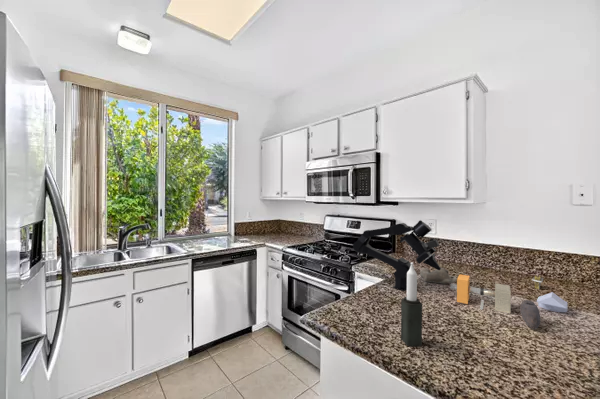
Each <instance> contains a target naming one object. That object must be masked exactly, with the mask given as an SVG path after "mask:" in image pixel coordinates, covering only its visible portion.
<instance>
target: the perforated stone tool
mask: <svg viewBox="0 0 600 399" xmlns="http://www.w3.org/2000/svg"><path fill="white" fill-rule="evenodd" d="M538 308H539V307H538V305H537V304H536V303H534V301H532V300H528V299H525V300H523V301H521V303H520V306H519V310H520V315H521V317H522V319H523V321H524V323H525V324H526V326H528V328H530V329H532V330H533V329H534V330H537V329H538V328H539V327H540V325H541V314H540V311H539V310H540V309H538Z"/></svg>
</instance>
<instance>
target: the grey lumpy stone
mask: <svg viewBox="0 0 600 399" xmlns="http://www.w3.org/2000/svg"><path fill="white" fill-rule="evenodd" d="M440 268H441V269H440V270H437V269H435V270H432V271H431V270H430V269H429V268H427V267H424V268H421V269H420V271H419V275H420V277H421V278H422V279H423V280H424V281H425V282H426V283H435V284H442V285H443V284H444V285H445V284H449V283H450V284H455V282H457V278H458V277H457V276H454V275H450V274H449V273H450V272H449V270H448V269H446V268H445V267H440Z"/></svg>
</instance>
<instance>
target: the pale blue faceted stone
mask: <svg viewBox="0 0 600 399" xmlns="http://www.w3.org/2000/svg"><path fill="white" fill-rule="evenodd" d="M536 303H537V307H540V308H541V309H545V310H546V311H547V310H548V311H552V312H557V313H567V312H568V301H565V299H563V298H561V297H560V296H558V295H557V294H556V293H554V292H553V291H551V292H549V293H546V294H544V295H540V296H538V298H537V299H536Z"/></svg>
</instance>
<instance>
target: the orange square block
mask: <svg viewBox="0 0 600 399" xmlns="http://www.w3.org/2000/svg"><path fill="white" fill-rule="evenodd" d="M456 278H457V280H456V284H457V290H456V302H457V303H460V304H465V305H469V304H468V303H469V300H470V293H469V292H468V287H471V286H470V280H471V279H470V278H471V277H470V275H465V274H459V275H458V276H457V277H456Z"/></svg>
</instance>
